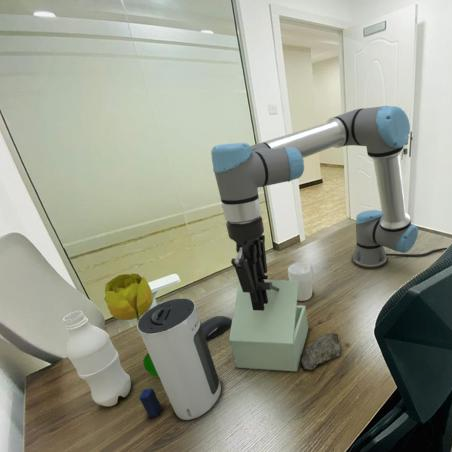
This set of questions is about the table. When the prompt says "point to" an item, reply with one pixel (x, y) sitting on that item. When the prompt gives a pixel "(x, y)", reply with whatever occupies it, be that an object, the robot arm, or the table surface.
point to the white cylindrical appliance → (181, 356)
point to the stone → (321, 351)
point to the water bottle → (95, 360)
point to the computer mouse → (215, 326)
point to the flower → (130, 303)
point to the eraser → (150, 402)
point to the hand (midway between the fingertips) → (260, 305)
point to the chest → (273, 349)
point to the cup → (302, 279)
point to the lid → (266, 314)
